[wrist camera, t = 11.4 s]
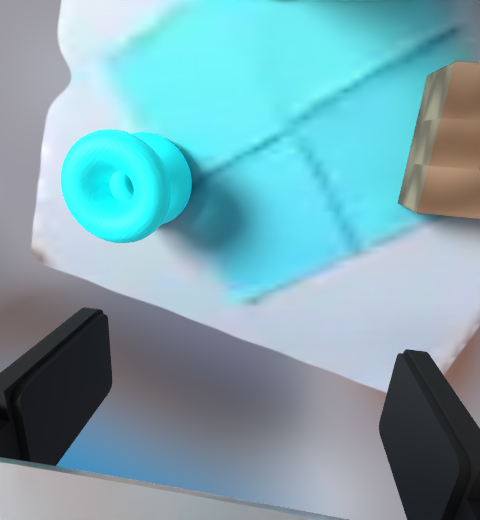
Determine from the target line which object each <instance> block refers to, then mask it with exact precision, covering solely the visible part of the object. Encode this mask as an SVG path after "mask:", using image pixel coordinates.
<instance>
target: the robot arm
mask: <svg viewBox="0 0 480 520" xmlns="http://www.w3.org/2000/svg"><path fill="white" fill-rule="evenodd" d="M111 386H112V370H111V357H110V342H109V328H108V317H107V316H106V315H104V314H103V311H102V310H100V309H92V308H82V309H80V310H79V311H78V312H77V313H75V314H74V315H73V316H72V317H70V318H69V319H68V320H67V321H65V322H64V323H63V324H62V325H60V326H59V327H58V328H56V329H55V330H54V331H53V332H51V333H50V334H49V335H48V336H46V337H45V338H44V339H43V340H41V341H40V342H39V343H37V344H36V345H35V346H34V347H33V348H31V349H30V350H29V351H27V352H26V353H25V354H24V355H22V356H21V357H20V358H19V359H17V360H16V361H15V362H13V363H12V364H11V365H10V366H9V367H7V368H6V369H5V370H4V371H2V372H1V373H0V520H348V519H342V518H337V517H332V516H327V515H321V514H316V513H311V512H306V511H300V510H295V509H289V508H285V507H279V506H274V505H269V504H264V503H258V502H252V501H247V500H242V499H236V498H231V497H225V496H220V495H215V494H209V493H204V492H198V491H193V490H187V489H182V488H176V487H171V486H165V485H160V484H154V483H149V482H143V481H138V480H132V479H127V478H121V477H115V476H110V475H103V474H97V473H93V472H86V471H81V470H76V469H69V468H64V467H59V466H56V465H57V463H58V462H59V461H60V459H61V458H62V457H63V455H64V454H65V452H66V451H67V450H68V448H69V447H70V446H71V444H72V443H73V441H74V440H75V439H76V437H77V436H78V434H79V433H80V432H81V430H82V429H83V428H84V426H85V425H86V423H87V422H88V420H89V419H90V418H91V417H92V415H93V413H94V412H95V411H96V409H97V408H98V407H99V405H100V404H101V403H102V401H103V400H104V398H105V397H106V396H107V394H108V393H109V391H110V389H111ZM379 430H380V436H381V439H382V442H383V445H384V449H385V451H386V455H387V458H388V461H389V464H390V467H391V470H392V473H393V477H394V480H395V483H396V486H397V489H398V492H399V495H400V498H401V501H402V505H403V508H404V511H405V514H406V517H407V520H480V428H479V427H478V426H477V424H476V423H475V421H474V420H473V418H472V417H471V415H470V414H469V412H468V411H467V409H466V408H465V407H464V405H463V404H462V402H461V401H460V399H459V398H458V396H457V395H456V393H455V392H454V390H453V389H452V387H451V386H450V385H449V383H448V382H447V380H446V379H445V377H444V376H443V374H442V373H441V371H440V370H439V368H438V367H437V365H436V364H435V362H434V361H433V359H432V358H431V357H430V355H429V354H428V353H427V352H423V351H415V350H405V351H404V353H403V354H401V353H399V354H398V355H397V358H396V362H395V365H394V369H393V373H392V377H391V381H390V384H389V388H388V392H387V396H386V400H385V403H384V407H383V411H382V415H381V419H380V423H379Z"/></svg>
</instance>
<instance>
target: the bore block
mask: <svg viewBox="0 0 480 520" xmlns="http://www.w3.org/2000/svg"><path fill="white" fill-rule="evenodd" d="M398 203H399V204H401V205H403V206H405V207H407V208H409V209H410V210H412V211H414V212H416V213H424V214H435V215H445V216H455V217H466V218H476V219H480V63H475V62H456V61H455V62H453V63H451V64H449V65H447V66H445V67H443V68H441V69H439V70H437V71H435V72H433V73H431V74H429V75H428V76H427V80H426V84H425V88H424V93H423V97H422V101H421V106H420V110H419V114H418V119H417V123H416V127H415V131H414V136H413V140H412V144H411V149H410V153H409V157H408V161H407V166H406V170H405V174H404V179H403V183H402V187H401V191H400V196H399V200H398Z"/></svg>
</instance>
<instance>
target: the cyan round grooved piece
mask: <svg viewBox="0 0 480 520" xmlns="http://www.w3.org/2000/svg"><path fill="white" fill-rule="evenodd" d="M61 187H62V193H63V196H64V200H65V202H66V205H67V207H68V209H69V210H70V212H71V214H72V215H73V217H74V218H75V219H76V221H77V222H78V223H79V224H80V225H81V226H82V227H83V228H85V229H86V230H87V231H88V232H90V233H91V234H93V235H95V236H97V237H99V238H101V239H103V240H106V241H110V242H115V243H129V242H135V241H138V240H141V239H143V238H145V237H147V236H149V235H150V234H152V233H153V232H154V231H155V230H156V229H157V228H158V227H159V226H160V225H162V224H165V223H168V222H170V221H172V220H173V219H175V218H176V217H177V216H178V215H179V214H180V213H181V212H182V211H183V210H184V208H185V207H186V205H187V203H188V201H189V198H190V195H191V189H192V178H191V172H190V168H189V166H188V163H187V161H186V159H185V157H184V156H183V154H182V153H181V152H180V150H179V149H178V148H177V147H176V146H175V145H174V144H173V143H172V142H170V141H169V140H167V139H166V138H164V137H162V136H159V135H157V134H153V133H146V132H138V133H133V134H130V133H128V132H124V131H120V130H111V129H106V130H99V131H95V132H92V133H89V134H87V135H85V136H84V137H82V138H81V139H79V140H78V141H77V142H76V143H75V144H74V145H73V146H72V147H71V149H70V150H69V152H68V154H67V155H66V158H65V160H64V163H63V166H62V171H61Z"/></svg>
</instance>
